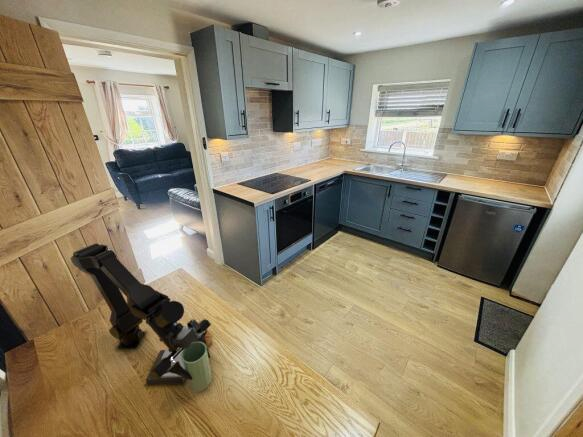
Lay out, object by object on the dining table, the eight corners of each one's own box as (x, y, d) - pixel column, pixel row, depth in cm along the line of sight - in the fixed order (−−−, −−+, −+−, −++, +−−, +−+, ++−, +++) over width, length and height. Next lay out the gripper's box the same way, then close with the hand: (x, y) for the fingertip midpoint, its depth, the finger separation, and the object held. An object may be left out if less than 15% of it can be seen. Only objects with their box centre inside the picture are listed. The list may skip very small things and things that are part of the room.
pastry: (216, 342, 87) (214, 335, 85) (198, 354, 83) (196, 347, 81) (204, 327, 93) (203, 320, 92) (187, 337, 89) (185, 330, 87)
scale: (147, 384, 74) (144, 378, 72) (162, 354, 83) (160, 348, 81) (183, 383, 74) (181, 377, 73) (194, 353, 83) (192, 347, 82)
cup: (185, 392, 70) (177, 363, 65) (192, 369, 77) (186, 341, 71) (208, 391, 71) (202, 363, 65) (214, 369, 77) (209, 341, 72)
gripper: (145, 349, 58) (186, 397, 58) (202, 299, 73) (234, 337, 73) (133, 357, 64) (170, 400, 64) (188, 309, 79) (217, 344, 80)
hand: (200, 368), depth 70 cm, fingers closed on cup, 7 cm apart
